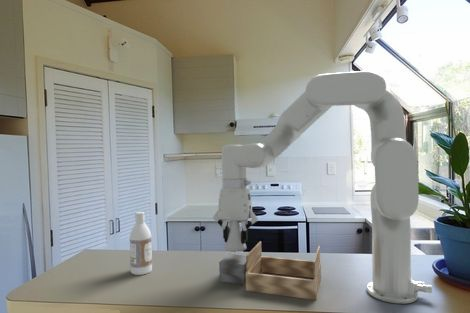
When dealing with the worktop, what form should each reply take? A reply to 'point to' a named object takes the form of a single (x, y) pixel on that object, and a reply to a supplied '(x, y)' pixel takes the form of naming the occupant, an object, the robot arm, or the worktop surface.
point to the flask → (234, 238)
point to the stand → (233, 269)
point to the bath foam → (140, 247)
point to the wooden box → (281, 283)
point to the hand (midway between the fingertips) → (235, 241)
